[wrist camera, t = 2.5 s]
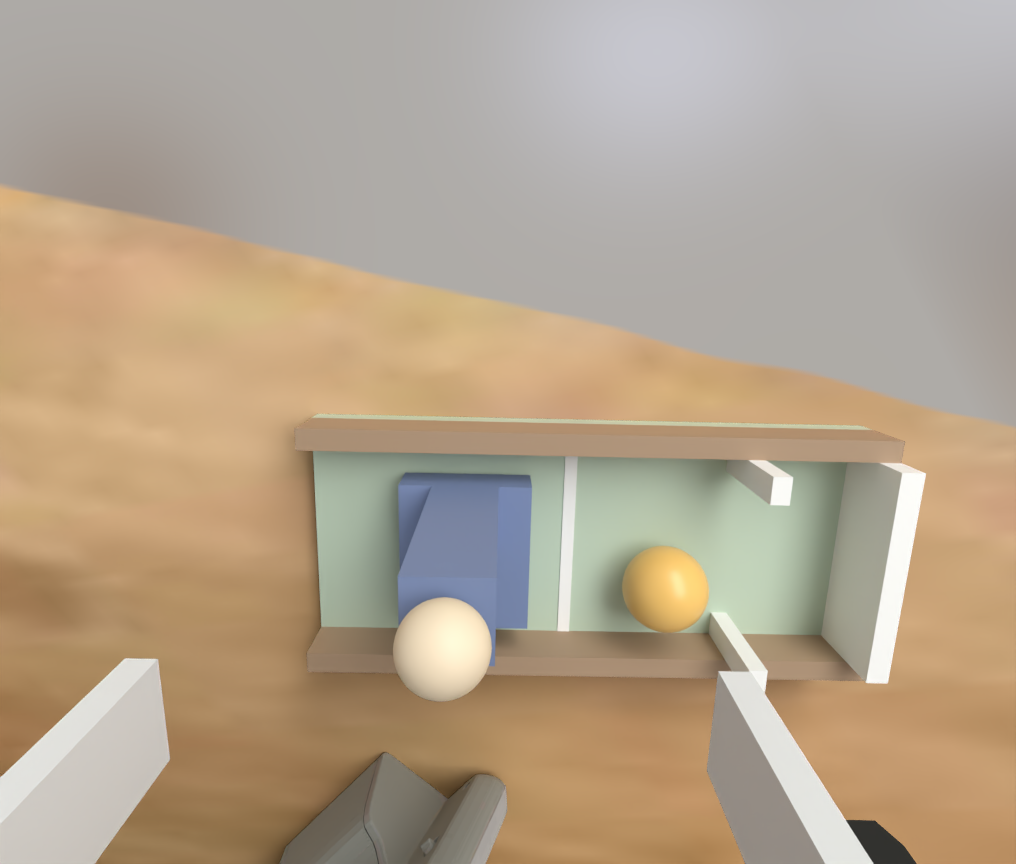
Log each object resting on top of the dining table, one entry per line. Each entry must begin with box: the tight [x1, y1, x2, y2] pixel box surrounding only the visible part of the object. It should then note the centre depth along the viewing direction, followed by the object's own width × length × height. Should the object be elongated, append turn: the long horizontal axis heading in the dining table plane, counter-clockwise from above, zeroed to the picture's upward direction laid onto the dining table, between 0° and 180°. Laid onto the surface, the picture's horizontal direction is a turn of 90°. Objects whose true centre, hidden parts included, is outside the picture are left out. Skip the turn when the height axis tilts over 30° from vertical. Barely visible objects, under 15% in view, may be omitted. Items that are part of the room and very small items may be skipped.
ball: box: [622, 546, 709, 633], centre depth 29 cm, size 4×4×4 cm
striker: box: [393, 472, 532, 702], centre depth 23 cm, size 6×7×14 cm
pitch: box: [294, 414, 926, 693], centre depth 28 cm, size 27×12×6 cm, turn 89°
